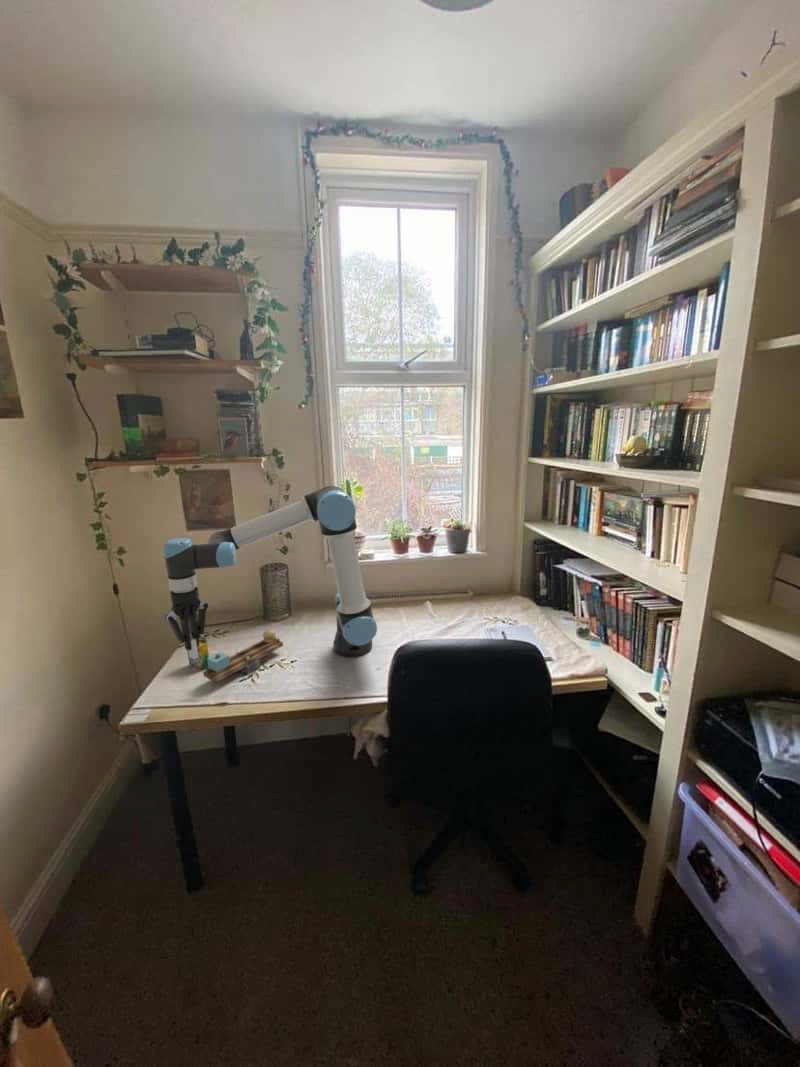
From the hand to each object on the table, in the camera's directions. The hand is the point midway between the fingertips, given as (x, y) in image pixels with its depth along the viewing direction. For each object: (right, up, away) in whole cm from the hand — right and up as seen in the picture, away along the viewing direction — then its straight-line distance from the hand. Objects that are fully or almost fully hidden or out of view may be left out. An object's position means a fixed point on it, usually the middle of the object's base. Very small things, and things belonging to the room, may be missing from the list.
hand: (194, 657), depth 134 cm
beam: (+11, -9, +17) cm, 22 cm away
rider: (+5, -7, +8) cm, 12 cm away
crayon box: (-7, -9, +19) cm, 22 cm away
